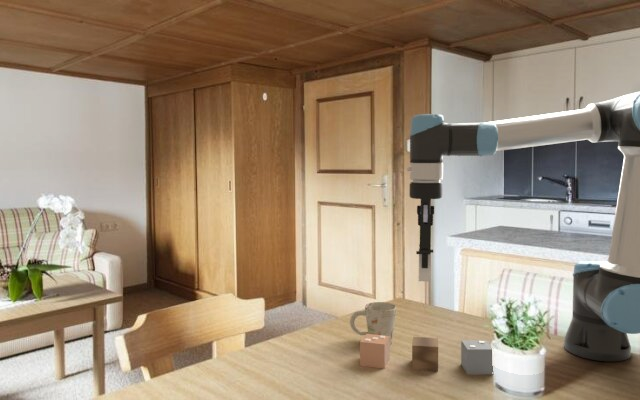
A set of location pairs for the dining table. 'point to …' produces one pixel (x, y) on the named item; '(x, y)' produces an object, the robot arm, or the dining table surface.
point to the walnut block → (425, 354)
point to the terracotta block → (375, 351)
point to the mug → (377, 319)
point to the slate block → (476, 356)
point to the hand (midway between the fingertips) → (424, 280)
